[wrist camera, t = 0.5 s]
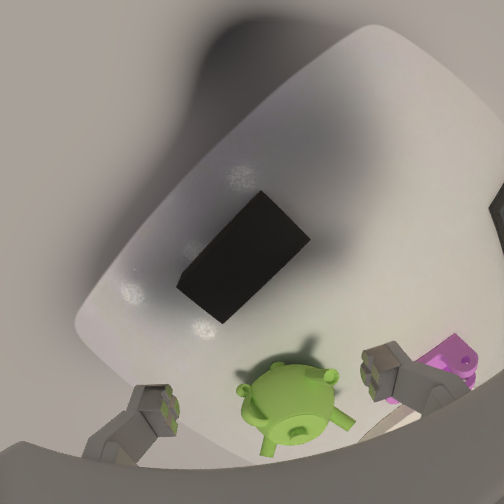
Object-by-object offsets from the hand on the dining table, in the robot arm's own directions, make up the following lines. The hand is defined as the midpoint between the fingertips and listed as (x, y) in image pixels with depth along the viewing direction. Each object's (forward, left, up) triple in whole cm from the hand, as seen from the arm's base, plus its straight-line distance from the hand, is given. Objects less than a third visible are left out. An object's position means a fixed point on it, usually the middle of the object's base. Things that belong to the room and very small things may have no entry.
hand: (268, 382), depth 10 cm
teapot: (+16, +1, -15) cm, 22 cm away
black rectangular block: (-1, 0, -15) cm, 15 cm away
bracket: (+23, +19, -15) cm, 33 cm away
